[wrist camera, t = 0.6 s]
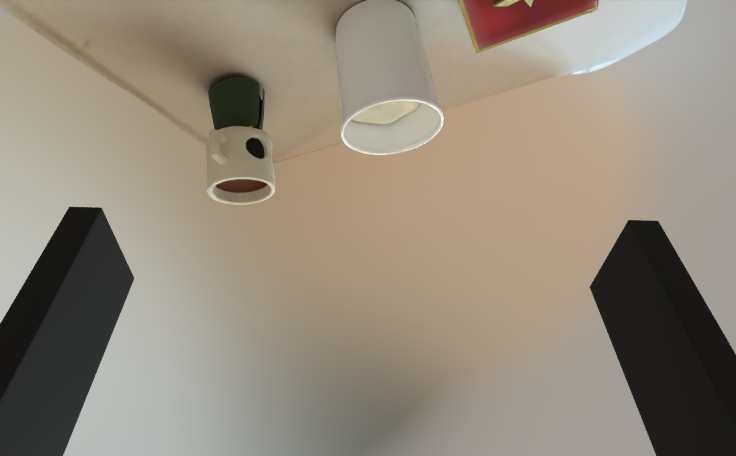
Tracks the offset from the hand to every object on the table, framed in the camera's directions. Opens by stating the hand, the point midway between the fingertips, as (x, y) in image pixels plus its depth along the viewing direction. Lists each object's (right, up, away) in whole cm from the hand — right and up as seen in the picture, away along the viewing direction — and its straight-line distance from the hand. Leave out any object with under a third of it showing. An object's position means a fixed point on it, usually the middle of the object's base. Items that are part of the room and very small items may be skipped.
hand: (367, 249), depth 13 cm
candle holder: (+1, +21, +38) cm, 44 cm away
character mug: (-15, +17, +45) cm, 50 cm away
